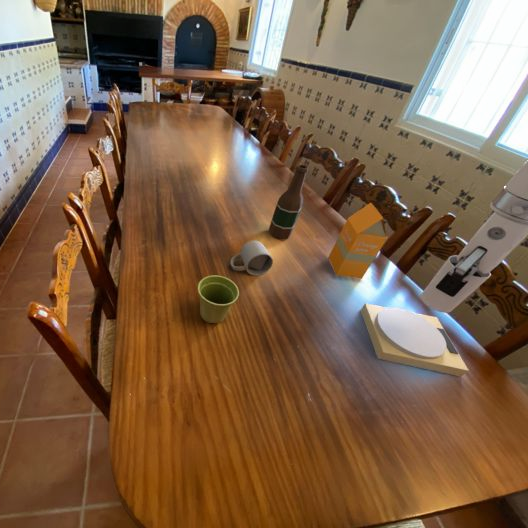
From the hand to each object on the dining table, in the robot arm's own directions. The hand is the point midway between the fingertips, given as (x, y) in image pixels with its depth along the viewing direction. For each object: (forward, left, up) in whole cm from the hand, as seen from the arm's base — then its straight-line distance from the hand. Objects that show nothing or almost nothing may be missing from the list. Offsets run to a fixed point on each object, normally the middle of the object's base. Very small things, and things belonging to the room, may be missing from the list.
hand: (451, 285), depth 59 cm
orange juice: (+8, -25, -18) cm, 32 cm away
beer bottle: (+27, -38, -18) cm, 50 cm away
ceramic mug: (+37, -16, -18) cm, 44 cm away
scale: (-1, 0, -18) cm, 18 cm away
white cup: (0, 0, -5) cm, 5 cm away
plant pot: (+45, +5, -18) cm, 49 cm away
